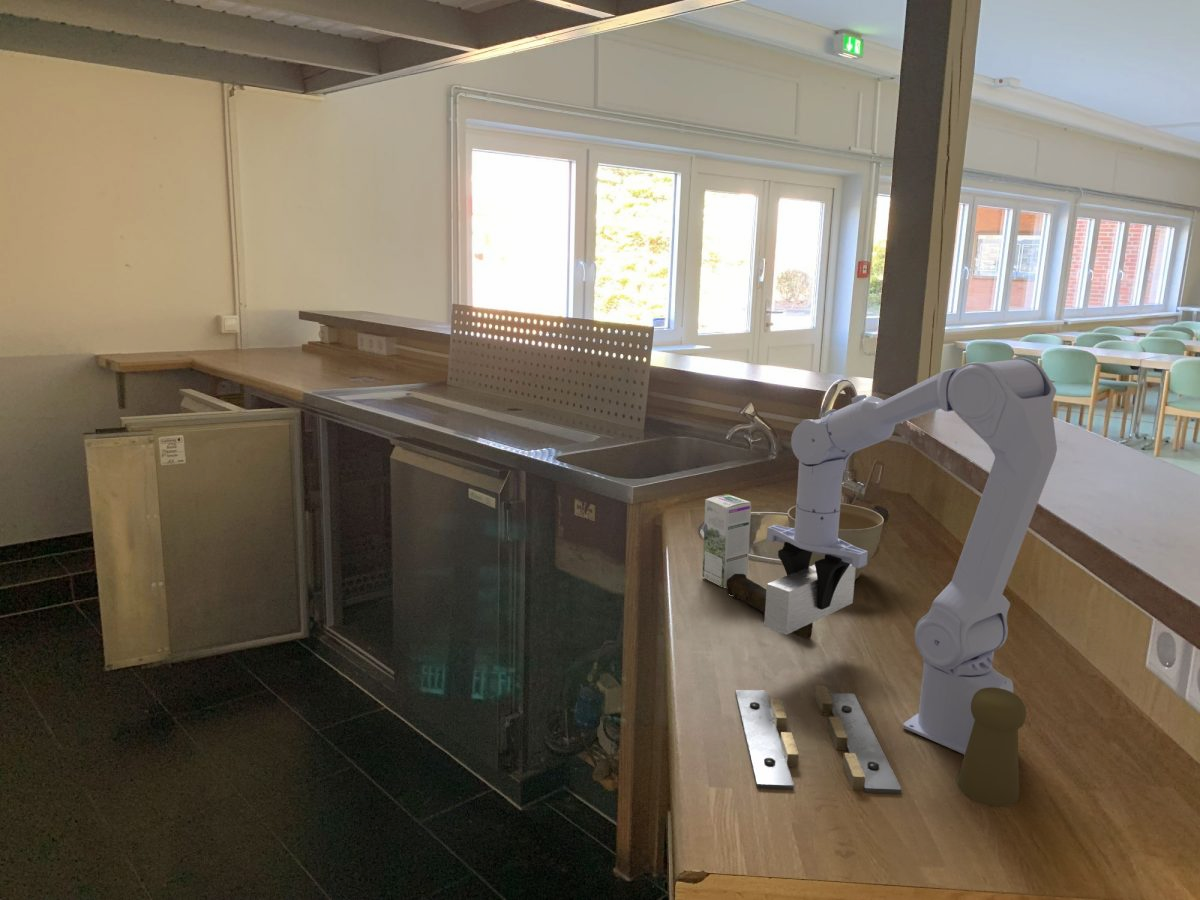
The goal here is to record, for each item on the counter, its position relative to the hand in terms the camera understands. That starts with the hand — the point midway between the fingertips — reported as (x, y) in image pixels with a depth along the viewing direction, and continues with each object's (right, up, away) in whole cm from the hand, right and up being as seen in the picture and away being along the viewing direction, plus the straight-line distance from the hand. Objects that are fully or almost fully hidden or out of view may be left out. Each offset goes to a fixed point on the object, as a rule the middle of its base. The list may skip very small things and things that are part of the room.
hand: (810, 602), depth 118 cm
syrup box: (-8, -2, +30) cm, 31 cm away
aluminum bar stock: (0, -2, 0) cm, 2 cm away
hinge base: (-4, -13, -18) cm, 22 cm away
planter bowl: (+12, -1, +34) cm, 36 cm away
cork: (+12, -15, -27) cm, 33 cm away
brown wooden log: (-2, -5, +16) cm, 17 cm away
